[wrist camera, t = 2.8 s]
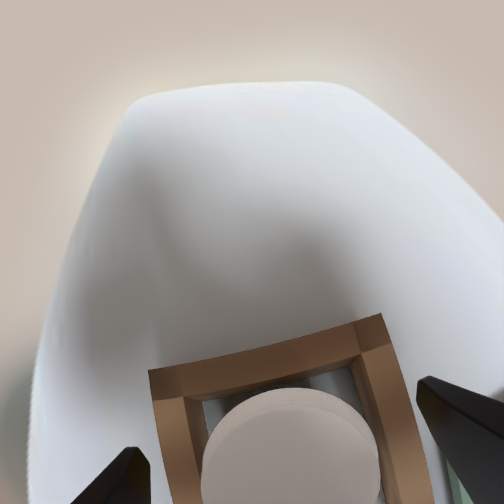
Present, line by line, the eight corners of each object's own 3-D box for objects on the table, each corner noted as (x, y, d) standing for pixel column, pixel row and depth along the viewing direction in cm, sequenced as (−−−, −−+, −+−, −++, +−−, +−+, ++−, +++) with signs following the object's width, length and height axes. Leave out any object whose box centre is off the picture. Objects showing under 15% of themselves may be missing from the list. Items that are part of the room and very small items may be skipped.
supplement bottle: (266, 382, 16) (233, 335, 7) (361, 419, 14) (445, 414, 6) (220, 469, 13) (133, 518, 5) (315, 509, 12) (340, 602, 3)
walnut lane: (414, 502, 11) (436, 514, 8) (209, 551, 11) (194, 571, 8) (367, 330, 16) (381, 312, 14) (170, 379, 16) (148, 370, 14)
